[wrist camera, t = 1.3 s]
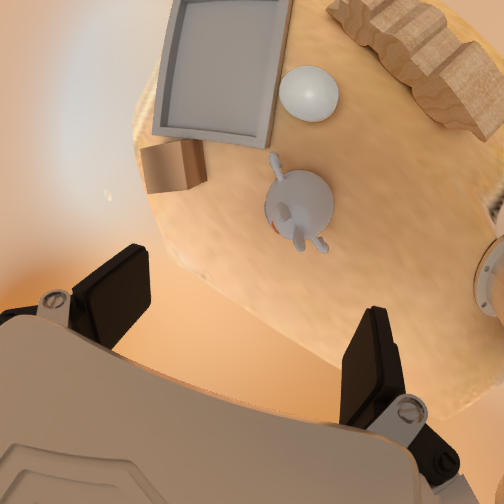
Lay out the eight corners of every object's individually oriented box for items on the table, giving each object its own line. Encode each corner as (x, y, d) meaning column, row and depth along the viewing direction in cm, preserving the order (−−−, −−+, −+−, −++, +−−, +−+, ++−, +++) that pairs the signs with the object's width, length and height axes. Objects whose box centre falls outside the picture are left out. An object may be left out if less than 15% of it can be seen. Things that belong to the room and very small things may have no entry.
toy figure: (254, 163, 29) (209, 186, 18) (305, 135, 26) (289, 138, 16) (302, 246, 31) (285, 309, 21) (352, 223, 29) (362, 280, 18)
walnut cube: (202, 137, 29) (180, 140, 25) (207, 180, 31) (187, 190, 27) (164, 144, 31) (140, 149, 26) (170, 184, 33) (147, 194, 28)
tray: (293, -3, 20) (290, -11, 18) (269, 147, 28) (264, 149, 26) (183, 0, 22) (174, -6, 20) (162, 133, 30) (151, 135, 28)
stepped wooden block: (358, -7, 17) (366, -54, 9) (472, 107, 19) (523, 106, 11) (326, 19, 20) (322, -25, 11) (443, 136, 22) (490, 143, 13)
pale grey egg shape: (340, 81, 23) (342, 72, 19) (332, 127, 25) (333, 126, 21) (291, 72, 24) (283, 61, 19) (284, 117, 26) (274, 114, 22)
